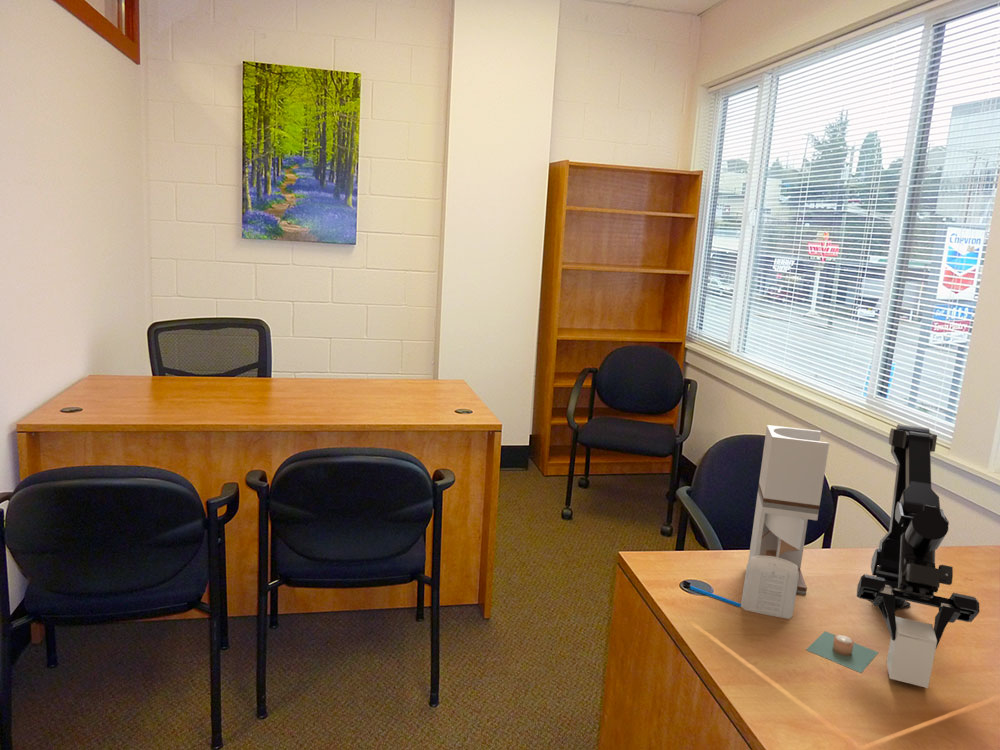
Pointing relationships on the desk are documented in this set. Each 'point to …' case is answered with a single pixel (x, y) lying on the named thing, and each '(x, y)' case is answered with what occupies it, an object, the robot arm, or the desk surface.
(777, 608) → the photo printer
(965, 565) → the desk surface
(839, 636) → the beige short cylinder
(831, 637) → the mat
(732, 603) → the pen
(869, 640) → the desk surface
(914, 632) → the white lidded box
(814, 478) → the white coffee grinder
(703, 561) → the desk surface
